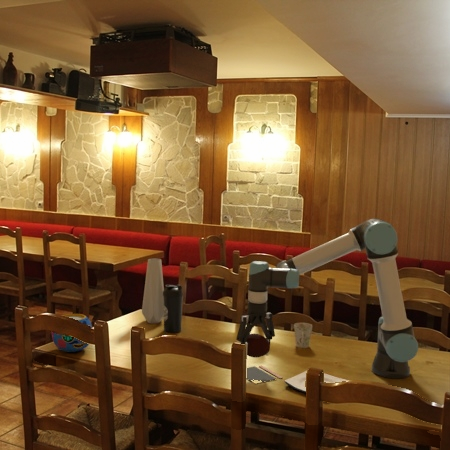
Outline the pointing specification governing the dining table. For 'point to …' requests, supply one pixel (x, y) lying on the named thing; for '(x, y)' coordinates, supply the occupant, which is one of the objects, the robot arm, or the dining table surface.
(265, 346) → the potato
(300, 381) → the plate
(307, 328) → the mug
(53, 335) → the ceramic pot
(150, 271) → the vase
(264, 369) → the pink thin rod
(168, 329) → the water bottle
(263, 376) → the mat
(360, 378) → the dining table surface
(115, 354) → the dining table surface
